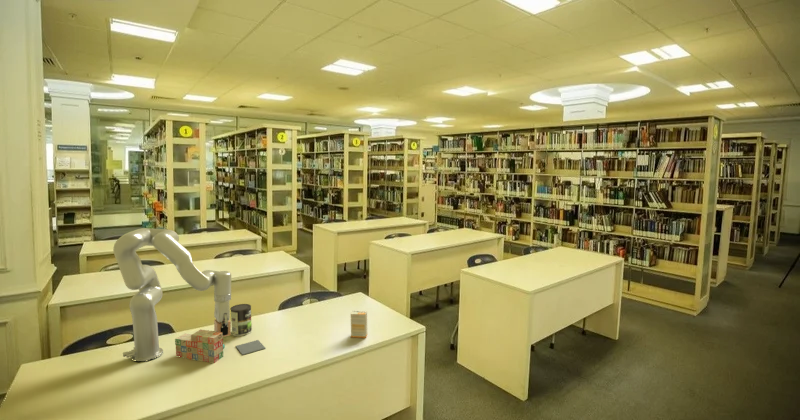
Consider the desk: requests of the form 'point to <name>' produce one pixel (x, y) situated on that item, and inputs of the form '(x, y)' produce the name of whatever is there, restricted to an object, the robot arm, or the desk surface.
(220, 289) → the robot arm
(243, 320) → the coffee can
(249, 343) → the mat
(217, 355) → the stack of blocks
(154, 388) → the desk surface
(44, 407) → the desk surface
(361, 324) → the supplement box
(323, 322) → the desk surface
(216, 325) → the tan cardboard-coloured cube
